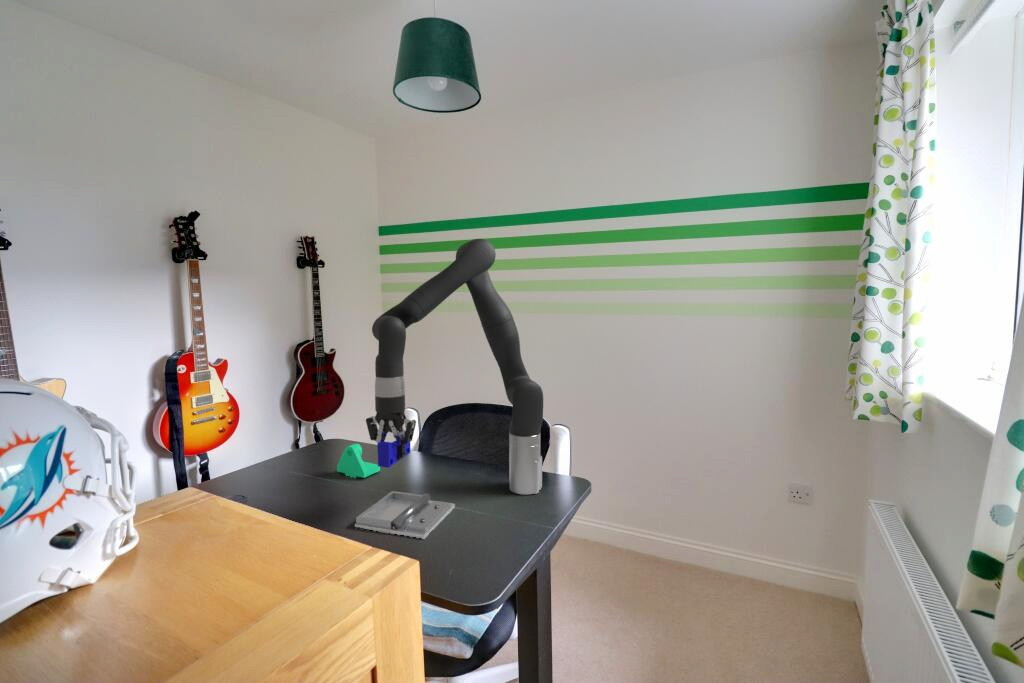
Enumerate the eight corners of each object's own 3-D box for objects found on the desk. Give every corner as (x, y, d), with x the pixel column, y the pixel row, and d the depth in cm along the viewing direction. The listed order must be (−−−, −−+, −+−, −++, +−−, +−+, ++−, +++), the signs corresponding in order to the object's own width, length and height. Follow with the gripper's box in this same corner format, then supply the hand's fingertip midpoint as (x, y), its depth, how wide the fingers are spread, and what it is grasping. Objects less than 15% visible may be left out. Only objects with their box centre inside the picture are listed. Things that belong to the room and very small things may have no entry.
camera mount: (381, 473, 155) (380, 442, 154) (364, 481, 149) (363, 449, 148) (354, 467, 161) (353, 437, 160) (337, 474, 154) (335, 443, 153)
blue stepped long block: (395, 451, 131) (395, 429, 130) (410, 452, 130) (410, 431, 129) (372, 465, 119) (372, 442, 119) (388, 467, 118) (388, 444, 118)
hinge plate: (454, 507, 129) (454, 495, 129) (424, 539, 112) (423, 525, 112) (393, 498, 135) (393, 487, 135) (355, 528, 118) (354, 515, 118)
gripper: (421, 392, 124) (422, 455, 125) (374, 388, 128) (376, 450, 130) (407, 397, 117) (408, 465, 118) (357, 394, 121) (359, 459, 123)
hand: (391, 457), depth 124 cm, fingers closed on blue stepped long block, 4 cm apart
